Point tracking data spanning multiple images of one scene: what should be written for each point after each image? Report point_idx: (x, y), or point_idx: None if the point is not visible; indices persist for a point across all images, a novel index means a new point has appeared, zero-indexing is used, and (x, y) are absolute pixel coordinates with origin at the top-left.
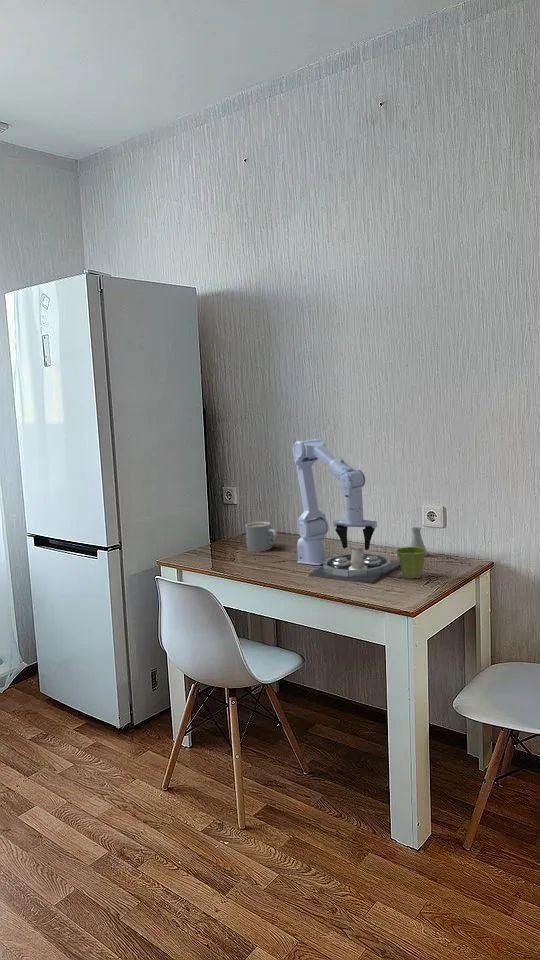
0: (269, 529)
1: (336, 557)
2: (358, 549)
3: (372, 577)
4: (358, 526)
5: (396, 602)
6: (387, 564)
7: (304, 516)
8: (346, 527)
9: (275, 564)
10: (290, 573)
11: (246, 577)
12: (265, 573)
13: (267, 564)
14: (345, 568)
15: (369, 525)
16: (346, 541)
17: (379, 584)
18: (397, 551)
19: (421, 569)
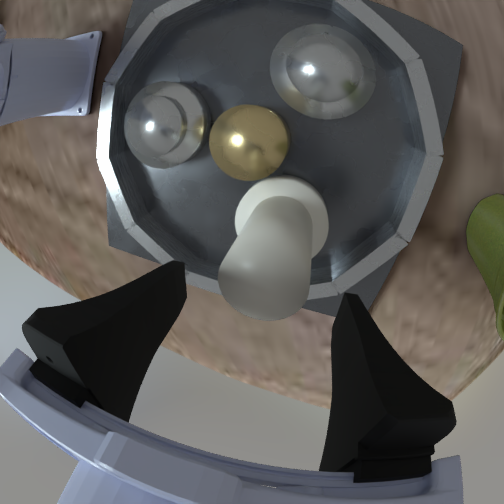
0: None
1: (121, 77)
2: (282, 313)
3: (359, 292)
4: (254, 474)
5: None
6: (430, 194)
7: None
8: (88, 360)
9: (11, 145)
10: (64, 220)
11: (27, 260)
12: (31, 228)
13: (3, 152)
14: (205, 166)
15: (382, 493)
16: (163, 293)
17: (382, 319)
18: (501, 314)
19: None
